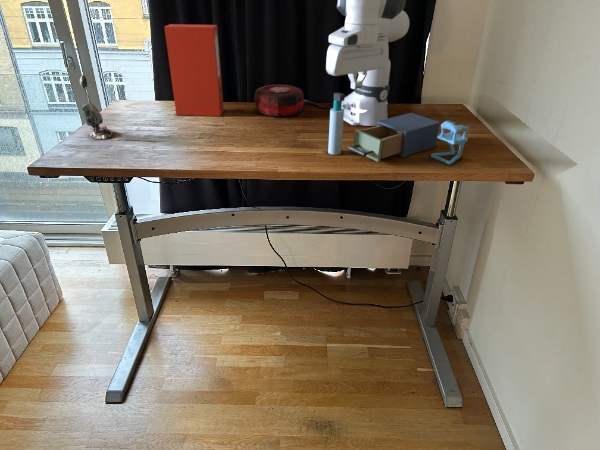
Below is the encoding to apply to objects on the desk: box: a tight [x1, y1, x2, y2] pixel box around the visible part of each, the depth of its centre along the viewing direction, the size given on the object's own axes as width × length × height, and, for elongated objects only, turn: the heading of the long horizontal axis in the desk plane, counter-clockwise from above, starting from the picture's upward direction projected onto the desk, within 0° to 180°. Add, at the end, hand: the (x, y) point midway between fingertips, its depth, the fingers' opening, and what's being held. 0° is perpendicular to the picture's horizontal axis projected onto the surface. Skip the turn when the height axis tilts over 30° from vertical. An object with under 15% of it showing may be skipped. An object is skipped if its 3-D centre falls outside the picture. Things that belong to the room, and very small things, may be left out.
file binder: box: [164, 23, 225, 117], centre depth 165 cm, size 8×17×32 cm, turn 89°
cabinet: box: [377, 112, 441, 158], centre depth 144 cm, size 16×12×8 cm
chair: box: [430, 120, 470, 166], centre depth 135 cm, size 8×8×12 cm
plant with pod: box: [79, 74, 113, 140], centre depth 144 cm, size 8×11×20 cm
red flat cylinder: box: [254, 84, 305, 118], centre depth 175 cm, size 20×8×20 cm
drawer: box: [347, 125, 405, 163], centre depth 137 cm, size 20×11×7 cm, turn 126°
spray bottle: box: [327, 92, 346, 156], centre depth 136 cm, size 4×4×19 cm
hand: (356, 88), depth 121 cm, fingers closed
